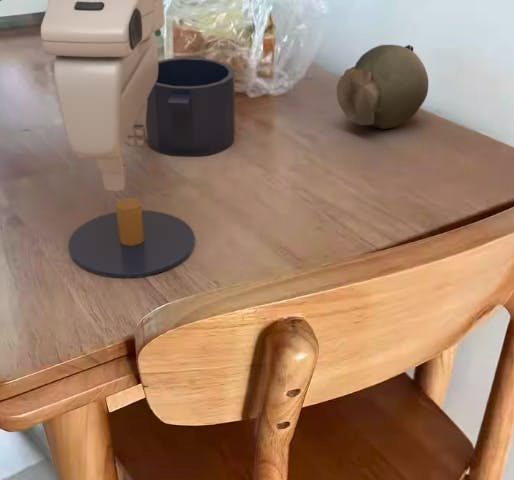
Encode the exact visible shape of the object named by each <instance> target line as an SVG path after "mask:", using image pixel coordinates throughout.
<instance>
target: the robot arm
mask: <svg viewBox="0 0 514 480" xmlns="http://www.w3.org/2000/svg"><path fill="white" fill-rule="evenodd" d="M165 22H166V18H165V5H164V0H47V6H46V10H45V13H44V16H43V19H42V22H41V24H40V38H41V45H42V49H43V52H44V54H45V55H47V56H55V57H54V60H53V75H54V76H53V77H54V84H55V89H56V95H57V100H58V104H59V109H60V114H61V118H62V123H63V127H64V131H65V135H66V139H67V143H68V145H69V147H70V149H71V150H72V152H73V154H74V155H75V156H76V157H77V158H79V159H85V160H86V159H88V160H89V159H90V160H94V161H95V163H96V164H97V167H98V169H99V171H100V172H101V178H102V185H103V188H104V190H106V191H108V192H121V191H123V190H124V189H125V186H126V185H127V181H128V176H127V166H126V164H124V162H123V158H122V154H123V148H124V146H125V144H126V145H127V146H128V147H143V146H144V144H145V142H146V138H147V134H146V113H147V98H148V96H149V94H150V92H151V90H152V88H153V86H154V84H155V82H156V81H157V78H158V61H159V56H158V48H157V47H158V46H157V38H156V32H157V31H160V30H161V29H162V28H163V27H164V25H165V24H166V23H165Z"/></svg>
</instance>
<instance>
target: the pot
mask: <svg viewBox="0 0 514 480" xmlns="http://www.w3.org/2000/svg"><path fill="white" fill-rule="evenodd" d="M235 75H236V73H235V69H234V68H232V66H230V65H229V64H227V63H224V62H222V61H219V60H215V59H210V58H206V57H205V56H186V57H184V56H183V57H173V58H166V59H161V60H158V78H157V81H156V82H155V84H154V86H153V88H152V90H151V92H150V94H149V96H148V98H147V113H146V134H147V138H146V140H145V142H146V145H148V146H149V147H150V148H151V149H152V150H154V151H156V152H157V153H160V154H163V155H167V156H173V157H183V158H184V157H185V158H194V157H195V158H196V157H204V156H210V155H211V156H212V155H214V154H215V155H216V154H218V153H221V152H223V151H225V150H227V149H229V148H230V147H231V146H232V145H233V143H234V141H235V134H236V96H235V94H236V93H235V92H236V82H235V81H236V79H235V77H236V76H235Z"/></svg>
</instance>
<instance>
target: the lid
mask: <svg viewBox="0 0 514 480" xmlns="http://www.w3.org/2000/svg"><path fill="white" fill-rule="evenodd" d="M115 210H116V211H115V212H110V213H106V214H103V215H100V216H97V217H94V218H92V219H90V220H88V221H86V222H85V223H83V224H82V225H80V226H79V227H77V229H75V230H74V232H73V233H72V234H71V235H70V237H69V240H68V246H67V247H68V254H69V256H70V258H71V259H72V261H73V263H75V265H77V266H78V267H79V268H81V269H82V270H84V271H86V272H88V273H90V274H94V273H95V275H97V274H98V275H97V276H101V275H105V276H104V277H106V276H111V277H110V278H113V277H124V278H123V279H126V278H125V277H138V278H140V277H139V276H145V277H147V276H146V275H150V274H155V273H158V274H160V273H159V272H162V273H164V272H163V271H165V270H167V269H170V270H172V269H173V268H172V267H174V266H176V267H177V265H178V264H179V265H181V264H182V263H184V262H185V261H186V260H187V259H188V258H189V257H190V256H191V255H192V253H193V251H194V249H195V246H196V238H195V237H196V236H195V234H194V231H193V229H192V228H191V226H190V225H188V223H186V222H185V221H184V220H182V219H180V218H179V217H177V216H174V215H172V214H168V213H164V212H160V211H155V210H144V209H142V202H141V201H140V199H138V198H135V197H124V198H120V199H119V200H117V201H116V202H115ZM181 262H182V263H181ZM180 263H181V264H180ZM179 265H178V266H179ZM171 268H172V269H171ZM174 268H175V267H174ZM167 271H168V270H167ZM165 272H166V271H165ZM155 275H156V274H155ZM150 276H151V275H150Z"/></svg>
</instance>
